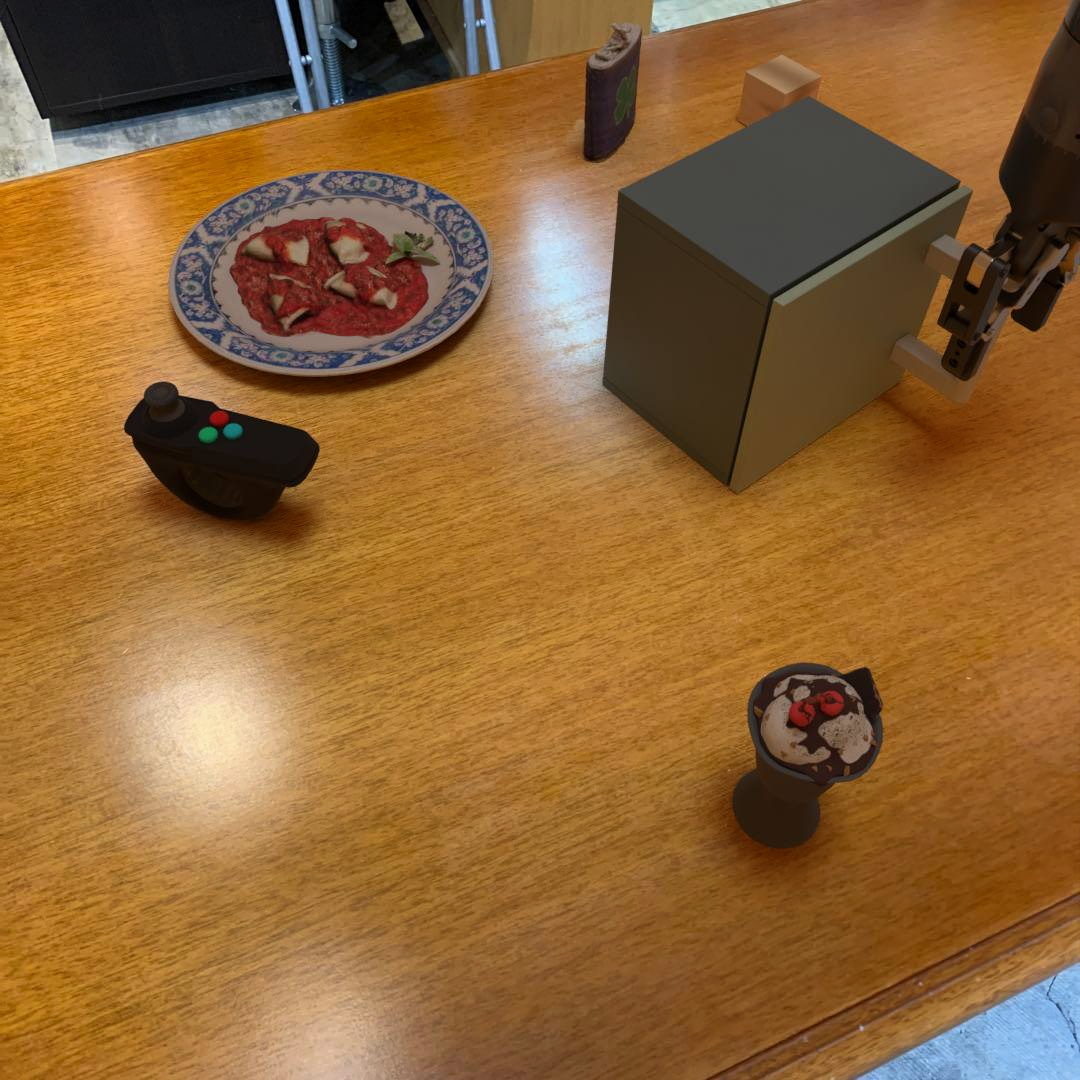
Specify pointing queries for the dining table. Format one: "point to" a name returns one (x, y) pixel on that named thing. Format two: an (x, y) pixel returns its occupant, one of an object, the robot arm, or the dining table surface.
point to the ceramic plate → (330, 273)
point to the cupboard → (740, 260)
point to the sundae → (805, 747)
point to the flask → (611, 92)
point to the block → (775, 88)
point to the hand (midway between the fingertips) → (991, 347)
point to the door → (853, 338)
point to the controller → (218, 453)
